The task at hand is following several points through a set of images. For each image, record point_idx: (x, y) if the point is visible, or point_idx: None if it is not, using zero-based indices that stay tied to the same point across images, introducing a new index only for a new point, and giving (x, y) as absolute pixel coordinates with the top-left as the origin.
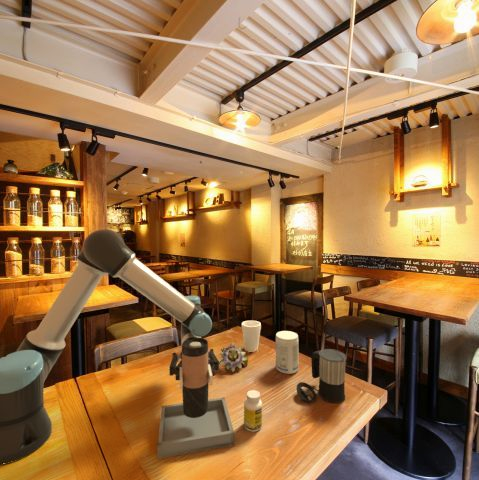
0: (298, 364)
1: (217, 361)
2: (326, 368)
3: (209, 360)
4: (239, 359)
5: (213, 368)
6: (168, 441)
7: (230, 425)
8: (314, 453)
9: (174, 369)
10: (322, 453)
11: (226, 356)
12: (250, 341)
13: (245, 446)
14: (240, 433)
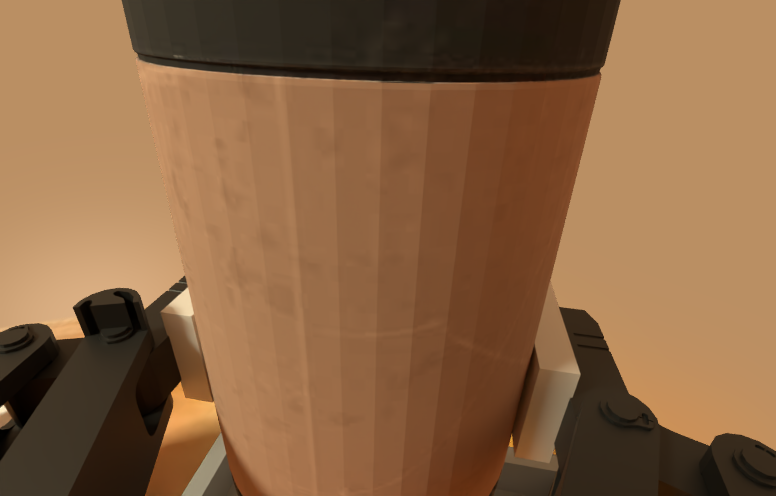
0: None
1: (16, 328)
2: None
3: (47, 413)
4: None
5: (174, 292)
6: (530, 463)
7: (223, 442)
8: (78, 327)
9: (661, 427)
10: (63, 320)
11: None
12: None
13: (217, 416)
14: (176, 485)
